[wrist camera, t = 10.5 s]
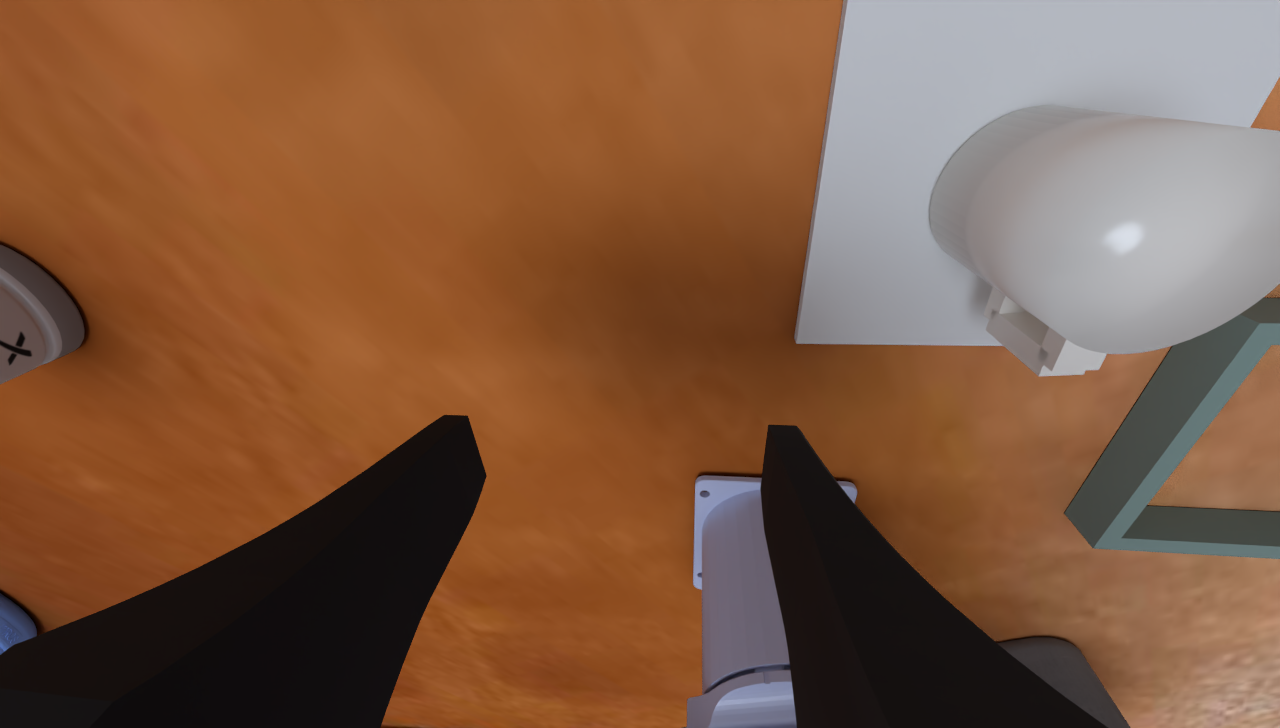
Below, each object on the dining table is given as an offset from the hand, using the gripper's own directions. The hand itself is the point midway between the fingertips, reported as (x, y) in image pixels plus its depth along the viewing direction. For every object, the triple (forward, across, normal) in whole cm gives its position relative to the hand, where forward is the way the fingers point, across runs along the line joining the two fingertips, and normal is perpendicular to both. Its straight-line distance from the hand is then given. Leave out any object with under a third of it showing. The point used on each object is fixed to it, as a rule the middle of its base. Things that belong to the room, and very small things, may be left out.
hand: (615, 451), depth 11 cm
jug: (+9, -12, -4) cm, 15 cm away
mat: (+9, -12, -4) cm, 16 cm away
